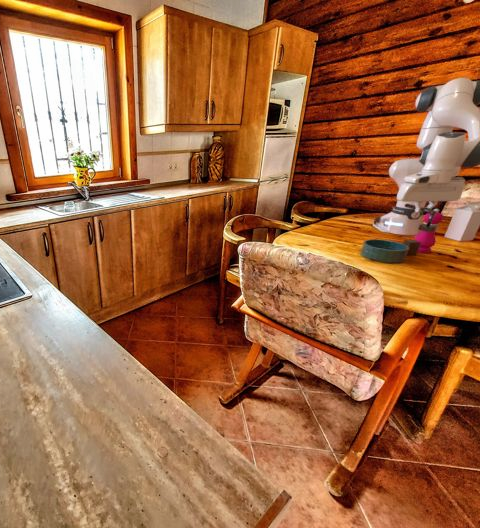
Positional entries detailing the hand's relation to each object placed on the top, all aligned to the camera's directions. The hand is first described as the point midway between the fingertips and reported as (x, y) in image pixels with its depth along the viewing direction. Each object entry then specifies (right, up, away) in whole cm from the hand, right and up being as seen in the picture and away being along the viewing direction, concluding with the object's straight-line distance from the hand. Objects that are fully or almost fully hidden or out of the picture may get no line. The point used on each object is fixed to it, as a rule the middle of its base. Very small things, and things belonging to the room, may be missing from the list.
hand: (422, 211), depth 115 cm
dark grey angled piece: (+1, -5, +4) cm, 7 cm away
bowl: (-7, -19, +11) cm, 23 cm away
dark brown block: (+7, -17, +13) cm, 22 cm away
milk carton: (+47, -9, +27) cm, 55 cm away
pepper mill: (+15, -16, +15) cm, 27 cm away
